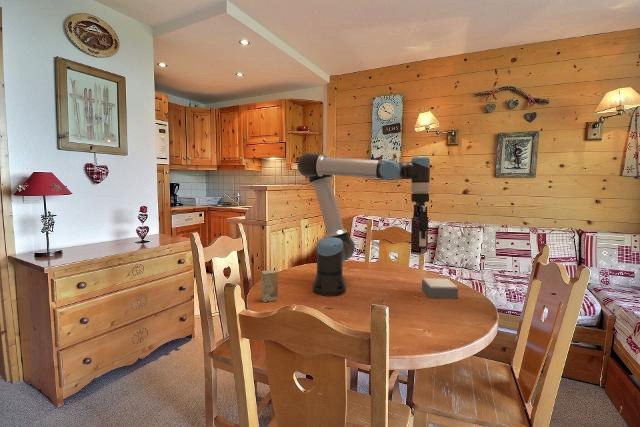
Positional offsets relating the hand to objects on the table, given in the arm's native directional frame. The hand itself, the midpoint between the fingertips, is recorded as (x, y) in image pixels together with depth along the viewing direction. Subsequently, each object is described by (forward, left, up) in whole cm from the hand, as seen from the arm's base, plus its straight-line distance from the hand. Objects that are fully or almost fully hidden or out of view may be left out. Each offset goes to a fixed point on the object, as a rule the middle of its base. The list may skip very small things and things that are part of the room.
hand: (419, 243), depth 142 cm
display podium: (+9, 0, -22) cm, 24 cm away
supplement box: (0, 0, -4) cm, 4 cm away
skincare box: (-65, -12, -23) cm, 69 cm away
